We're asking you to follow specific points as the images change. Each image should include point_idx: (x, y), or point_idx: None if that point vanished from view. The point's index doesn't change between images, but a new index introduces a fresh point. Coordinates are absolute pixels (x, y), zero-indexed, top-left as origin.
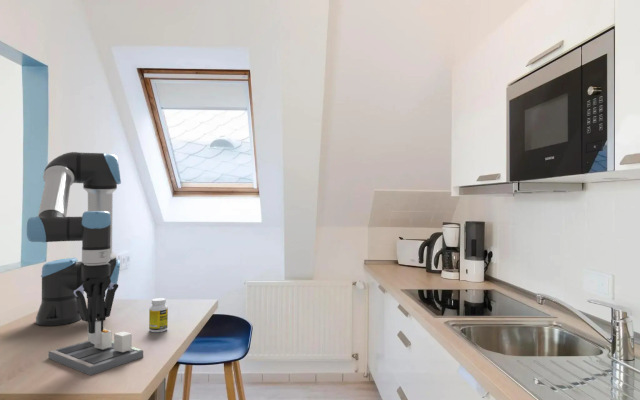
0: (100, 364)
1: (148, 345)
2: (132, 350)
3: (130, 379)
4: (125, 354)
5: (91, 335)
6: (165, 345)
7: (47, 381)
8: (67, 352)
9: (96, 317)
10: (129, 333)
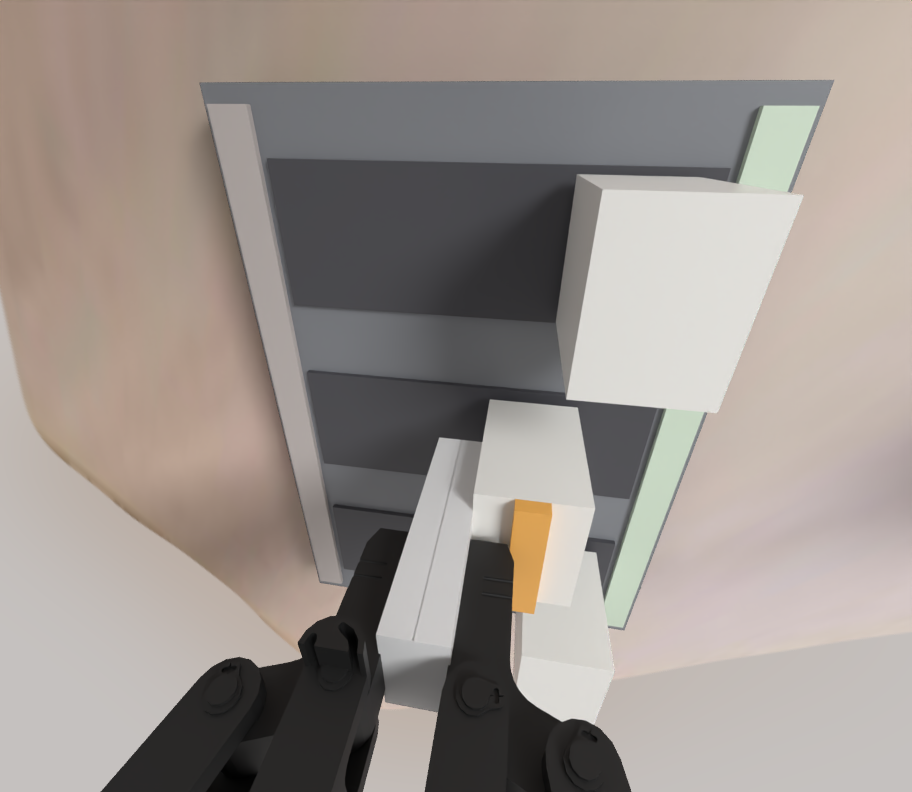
0: None
1: (831, 509)
2: None
3: None
4: None
5: (425, 493)
6: (856, 586)
7: (181, 464)
8: (311, 298)
9: (441, 705)
10: (585, 719)
